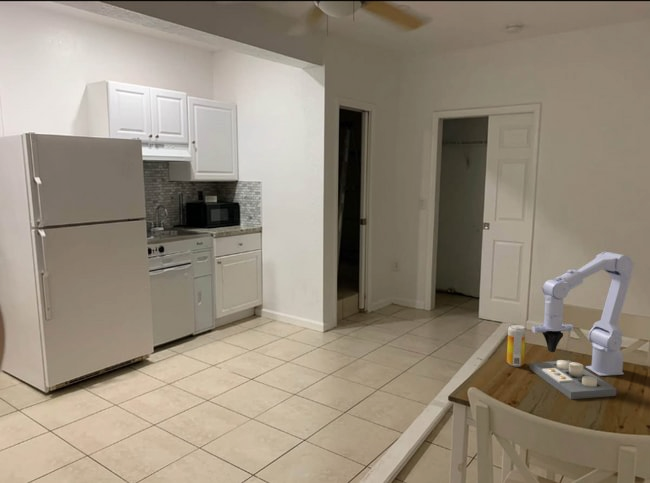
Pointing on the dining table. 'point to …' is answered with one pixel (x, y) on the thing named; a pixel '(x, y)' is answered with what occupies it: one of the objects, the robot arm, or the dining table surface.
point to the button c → (589, 381)
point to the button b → (576, 369)
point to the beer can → (516, 345)
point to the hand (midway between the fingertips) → (551, 351)
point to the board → (576, 387)
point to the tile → (557, 375)
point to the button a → (563, 364)
